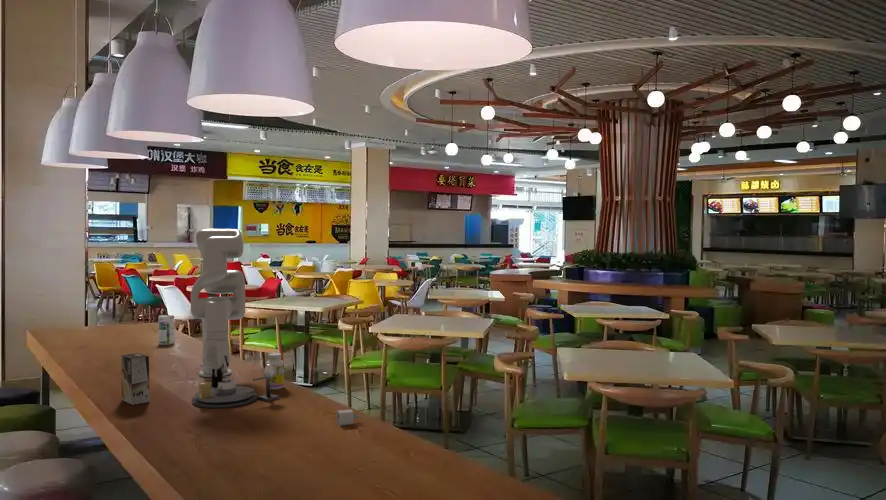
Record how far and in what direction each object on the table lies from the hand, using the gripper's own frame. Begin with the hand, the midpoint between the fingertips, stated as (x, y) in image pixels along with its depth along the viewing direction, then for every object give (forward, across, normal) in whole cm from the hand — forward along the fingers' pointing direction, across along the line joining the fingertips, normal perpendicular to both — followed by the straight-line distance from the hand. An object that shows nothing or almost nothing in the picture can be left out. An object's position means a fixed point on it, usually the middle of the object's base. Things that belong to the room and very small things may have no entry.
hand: (216, 386), depth 243 cm
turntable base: (+4, +5, 0) cm, 6 cm away
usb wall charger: (+4, +58, +7) cm, 59 cm away
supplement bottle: (+4, +5, +22) cm, 23 cm away
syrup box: (+4, -110, +48) cm, 120 cm away
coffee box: (+4, -18, -20) cm, 27 cm away
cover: (+1, +5, 0) cm, 5 cm away
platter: (+3, +5, 0) cm, 5 cm away
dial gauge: (+4, +16, +8) cm, 18 cm away
